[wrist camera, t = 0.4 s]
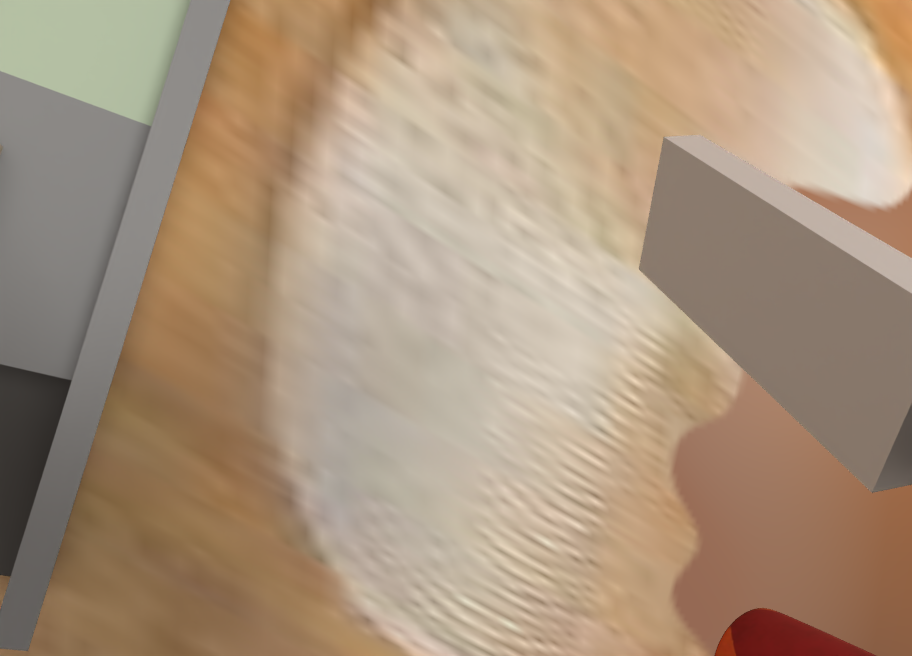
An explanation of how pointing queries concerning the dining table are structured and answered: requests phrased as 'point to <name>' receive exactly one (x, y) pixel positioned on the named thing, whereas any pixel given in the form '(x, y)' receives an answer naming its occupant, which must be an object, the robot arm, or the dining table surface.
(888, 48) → the dining table surface
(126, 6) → the trap lane
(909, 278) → the robot arm
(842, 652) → the paper cup
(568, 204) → the dining table surface
